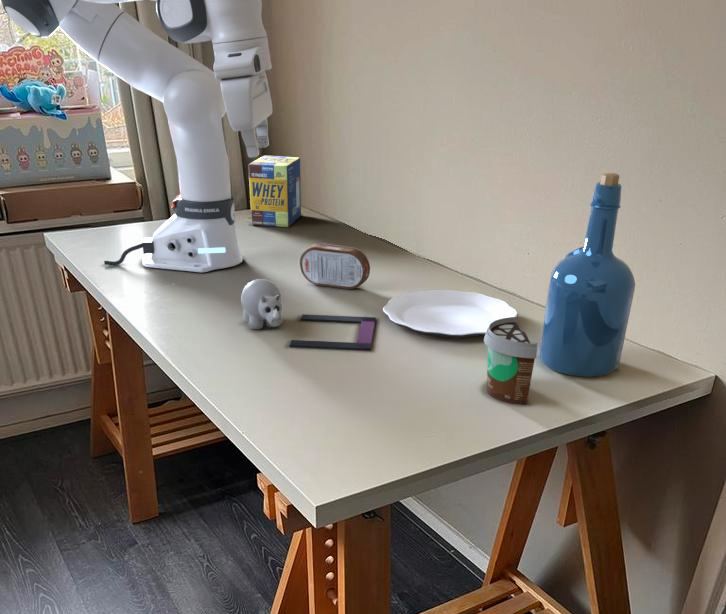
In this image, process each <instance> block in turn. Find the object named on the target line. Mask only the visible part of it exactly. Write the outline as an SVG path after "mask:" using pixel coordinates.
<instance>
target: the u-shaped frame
mask: <svg viewBox="0 0 726 614" xmlns="http://www.w3.org/2000/svg"><path fill="white" fill-rule="evenodd" d="M376 319H377V318H376V317H373V316H351V315H349V316H348V315H329V314H327V315H326V314H304V313H303V314H302V315H301V317H300V321H301V322H319V323H321V322H322V323H323V322H326V323H345V324H346V323H347V324H348V323H349V324H360V327H359V331H358V335H357V341H356V342H348V341H324V340H306V339H305V340H303V339H301V340H300V339H291V341H290V343H289V348H298V349H299V348H300V349H322V350H323V349H324V350H326V349H327V350H346V351H366V352H369V351H371V349H372V342H373V338H374V337H373V336H374V332H375V331H374V330H375V325H376Z"/></svg>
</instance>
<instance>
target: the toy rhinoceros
mask: <svg viewBox="0 0 726 614" xmlns="http://www.w3.org/2000/svg"><path fill="white" fill-rule="evenodd" d="M240 303H241V306H242V309H243V311H242V314H241V318H242V321H243V322H244V323H248V327H249V328H250V329H252V330H259V329H262V328H263V326H264V322H265V325H266V327H268V328H277V327H279V326H280V325H281V324H282V322H283V320H284V319H283V314H282V312H283V305H282V296H281V293H280V290H279V288H278V287H277V285H276V284H274V282H272V281H270V280H268V279H264V278H257V279H253V280H251V281H250V282H248V283H247V284H246V285H245V286H244V287H243V289H242V292H241V295H240Z"/></svg>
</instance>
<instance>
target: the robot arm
mask: <svg viewBox="0 0 726 614" xmlns="http://www.w3.org/2000/svg"><path fill="white" fill-rule="evenodd" d="M0 1H1V4H2V9H3V10H4V11H5V13H6V14H7V15H8V16H9V18H10V20H12V22H13V23H14V24H15V25H16V26H17V27H18V28H20V29H21V30H23V31H24V32H25V33H28V34H31V35H32V36H34V37H36V38H47V39H48V38H49V37H51V36H52V35H53V34H54V33H56V31H57V30H58V29H59V28H60V29H61V31H62V32H63V33H64V34H65V35H66V36H67V37H68V38H69V39H70V40H71V41H72V42H73V43H74V44H75V45H76V46H77V47H78V48H79V49H80V50H81V51H83V52H84V53H85V54H86V55H88V56H89V57H90V58H92V59H93V60H94V61H96V63H99V64H100V65H101V66H103V67H104V68H106V69H107V70H108V71H110V72H111V73H113V74H114V75H115V76H117V77H118V78H119V79H121V80H122V81H124V82H125V83H127V84H128V85H129V86H131V87H132V88H134V89H135V90H137V91H140V92H141V93H144V94H146V95H148V96H150V97H152V98H154V99H155V100H157V101H159V102H161V103H162V104H163V109H164V112H165V115H166V118H167V123H168V129H169V133H170V137H171V140H172V145H173V149H174V153H175V159H176V166H177V175H178V176H177V177H178V185H179V186H178V187H179V194H178V195H176V196H175V197H174V200H172V202H171V203H170V205H171V208H170V209H171V210H172V211H173V213H174V214H173V215H172V216H170V217H169V218H168V219H167V220H166V221H165V222H164V223H163V224H161V225H160V227H158V228H157V229H156V230H155V231H154V232H153V235H152V237H142V239H141V243H139V244H136V245H133V246H131V247H128V248H127V249H125V250H124V251H123V252H122V253H121V256H120V258H119V259H118V260H116V261H112V260H103V265H105V266H106V265H107V266H119V265H121V264H123V262H125V259H126V257H127V256H128V255H129V254H130V253H132V252H133V251H136V250H139V249H140V250H141V249H142V252H143V257H142V258H141V262H142V266H143V267H146V268H153V269H154V268H155V269H163V270H172V271H173V270H174V271H182V272H184V271H185V272H194V273H208V272H211V271H214V270H221V269H226V268H231V267H235V266H237V265H240V264H241V263H242V262H243V260H244V259H243V256H242V253H241V250H240V245H239V242H238V238H237V234H236V227H235V222H236V207H235V202H234V196H233V195H232V186H231V172H230V171H231V170H230V159H229V155H228V153H227V147H226V142H225V135H224V129H223V122H222V121H223V120H222V119H223V118H224V116H225V115H226V116H227V120H228V122H229V125H230V128H231V129H232V131H233V132H240V134H241V138H242V141H243V143H244V146H245V148H246V149H245V150H246V154H247V157H248V158H257V157H258V156H259V155H260V149H265V148H267V147H268V146H270V141H269V122H268V118H269V117H270V116H272V114H273V102H272V97H271V91H270V86H269V81H268V76H267V73H266V71H270V70H271V69H273V65H272V60H271V52H270V46H269V41H268V34H267V31H266V29H265V27H264V23H263V17H262V11H263V10H262V9H263V1H262V0H151V1H153V2H155V9H156V14H157V18H158V21H159V24H160V26H161V27H162V29H163V31H164V33H165V34H166V35H167V36H168V37H169V38H170V39H171V40H173V42H177V43H181V44H198V43H205V42H211V43H212V48H213V53H214V62H213V65H212V67H213V70H212V69H211V68H209V67H207V66H206V65H204V64H203V63H201V62H200V61H198V60H197V59H196V58H193V57H192V56H190V54H188V53H186V52H185V51H183V50H181V49H180V48H178V47H177V46H174V45H173V44H171V43H170V42H169V41H166V40H165V39H163V38H162V37H160V36H159V35H158V34H156V33H155V32H153V31H152V30H151V29H149V28H148V27H147V26H145V25H144V24H142V22H141V21H139V20H137V19H136V18H134V17H133V15H130V14H129V13H128V12H126V11H125V10H124V9H122V8H121V7H119V6H118V5H117V4H119V3H129V2H138V1H141V2H142V0H0Z"/></svg>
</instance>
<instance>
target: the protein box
mask: <svg viewBox="0 0 726 614" xmlns="http://www.w3.org/2000/svg"><path fill="white" fill-rule="evenodd" d="M248 181H249V184H248V185H249V199H250V200H249V203H250V216H251V217H250V219H251V221H250V222H251V225H252V226H266V227H279V228H280V227H281V228H289V227H290V226H291V225H292V224H293V223H295V221H297V220H298V219H299V218H300V217H301V216H302V195H301V193H302V192H301V190H302V189H301V187H302V185H301V157H296V156H284V155H282V156H281V155H270V154H269V155H267V154H265V155H262V156H261V157H259V158H257V159H255V160H254V161H252V162H250V163H249V164H248Z"/></svg>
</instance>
